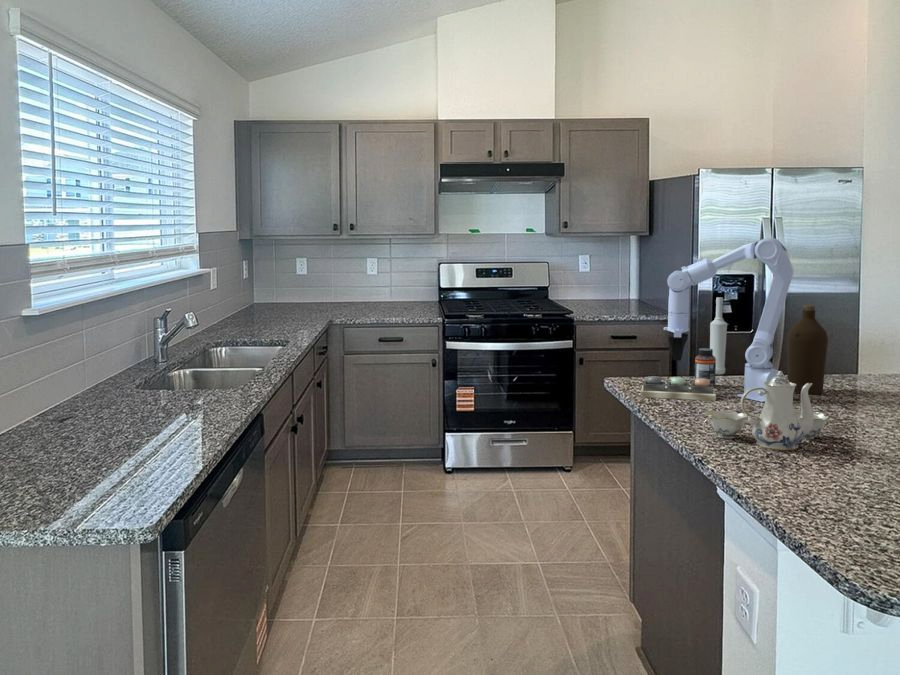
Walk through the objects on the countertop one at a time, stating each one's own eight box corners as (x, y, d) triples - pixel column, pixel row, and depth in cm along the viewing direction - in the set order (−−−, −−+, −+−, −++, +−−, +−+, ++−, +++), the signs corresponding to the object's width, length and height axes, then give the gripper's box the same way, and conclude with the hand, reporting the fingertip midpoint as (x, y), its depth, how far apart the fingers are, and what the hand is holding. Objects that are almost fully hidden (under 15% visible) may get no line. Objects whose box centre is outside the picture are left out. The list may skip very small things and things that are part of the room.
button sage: (685, 384, 220) (685, 377, 220) (685, 387, 216) (685, 379, 216) (670, 383, 221) (670, 376, 221) (670, 386, 217) (670, 379, 217)
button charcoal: (661, 383, 222) (661, 376, 221) (661, 385, 218) (661, 378, 218) (647, 382, 223) (647, 375, 223) (646, 385, 219) (646, 378, 219)
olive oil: (824, 396, 216) (829, 307, 213) (783, 393, 221) (787, 306, 218) (825, 390, 225) (830, 304, 222) (785, 387, 230) (789, 303, 227)
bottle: (713, 371, 258) (715, 296, 255) (728, 373, 255) (730, 297, 251) (705, 373, 255) (708, 297, 252) (720, 375, 251) (723, 298, 248)
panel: (714, 393, 221) (714, 382, 220) (715, 400, 211) (716, 388, 211) (642, 390, 226) (642, 379, 226) (640, 397, 217) (640, 385, 217)
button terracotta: (709, 385, 218) (709, 378, 218) (709, 388, 214) (710, 381, 214) (694, 384, 219) (694, 377, 219) (694, 387, 215) (694, 380, 215)
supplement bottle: (698, 383, 237) (700, 347, 235) (718, 385, 233) (719, 348, 232) (691, 386, 232) (692, 349, 231) (710, 388, 228) (712, 350, 227)
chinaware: (816, 438, 177) (816, 366, 177) (857, 450, 161) (857, 371, 160) (696, 440, 176) (695, 368, 176) (724, 453, 160) (724, 372, 159)
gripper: (664, 310, 230) (663, 355, 232) (663, 314, 216) (662, 362, 218) (689, 310, 228) (688, 356, 230) (689, 315, 214) (688, 363, 216)
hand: (677, 359), depth 224 cm, fingers open, 3 cm apart
